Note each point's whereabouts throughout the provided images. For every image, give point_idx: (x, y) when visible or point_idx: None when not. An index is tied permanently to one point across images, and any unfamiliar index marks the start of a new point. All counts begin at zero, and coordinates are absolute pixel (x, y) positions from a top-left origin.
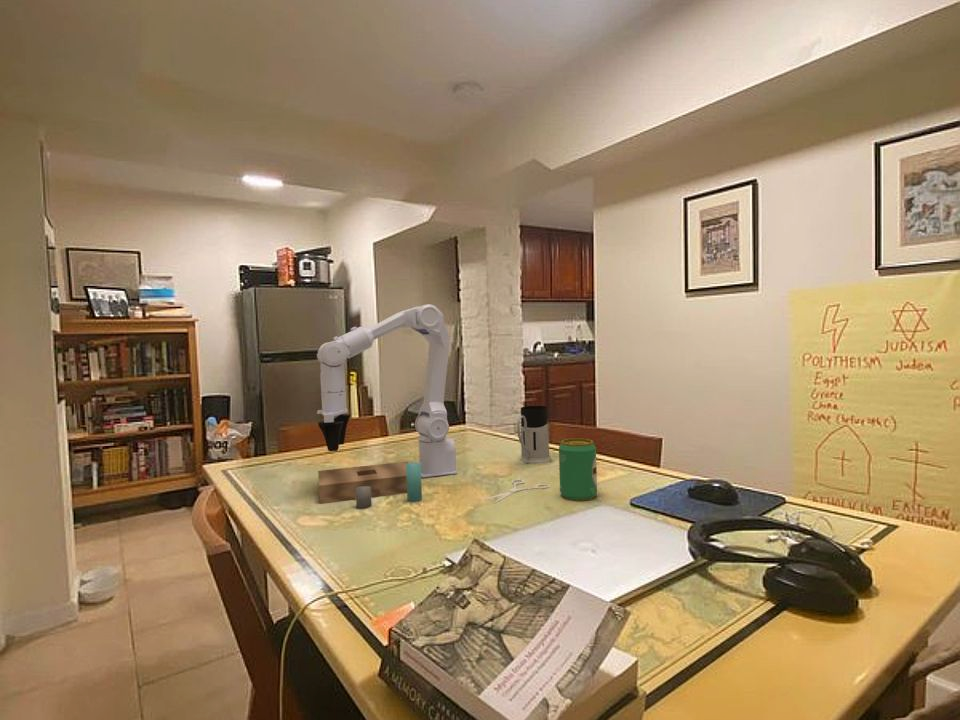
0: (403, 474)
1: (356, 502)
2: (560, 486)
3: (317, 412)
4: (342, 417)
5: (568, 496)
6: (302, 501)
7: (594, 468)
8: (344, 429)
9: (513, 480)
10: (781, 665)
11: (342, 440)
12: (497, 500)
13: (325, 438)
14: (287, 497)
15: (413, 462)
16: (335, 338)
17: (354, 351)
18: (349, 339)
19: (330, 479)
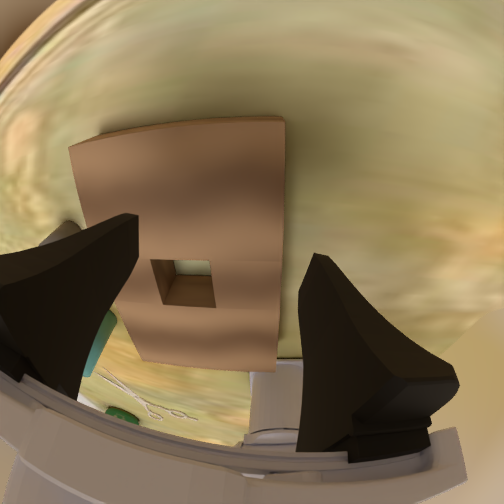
0: (145, 344)
1: (59, 226)
2: (116, 416)
3: (30, 431)
4: (313, 446)
5: (109, 409)
6: (130, 81)
7: None
8: (306, 369)
9: (183, 414)
10: None
11: (302, 304)
12: (104, 378)
13: (67, 240)
14: (191, 27)
15: (89, 372)
16: None
17: None
18: None
19: (123, 175)
